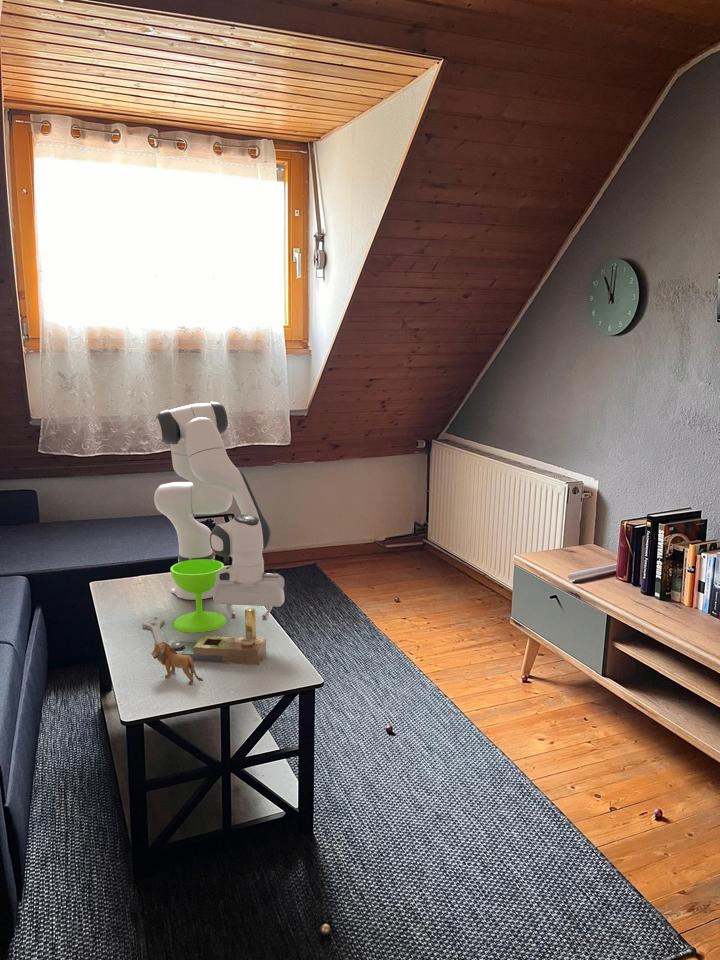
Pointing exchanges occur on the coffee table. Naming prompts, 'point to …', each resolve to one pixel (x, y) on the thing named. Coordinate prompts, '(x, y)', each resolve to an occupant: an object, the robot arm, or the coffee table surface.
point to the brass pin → (250, 623)
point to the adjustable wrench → (155, 628)
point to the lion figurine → (174, 660)
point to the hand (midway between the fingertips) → (249, 619)
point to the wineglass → (197, 593)
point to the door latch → (223, 649)
